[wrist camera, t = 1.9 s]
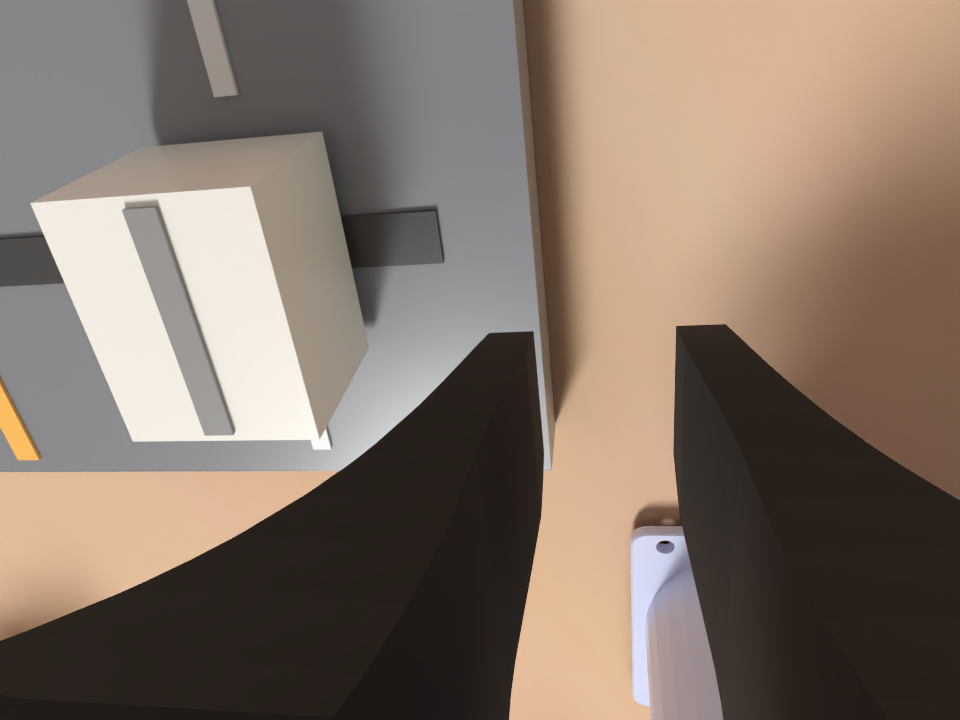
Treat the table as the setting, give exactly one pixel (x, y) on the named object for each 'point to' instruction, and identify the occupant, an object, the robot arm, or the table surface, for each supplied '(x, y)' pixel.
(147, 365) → the fader tab
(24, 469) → the console board
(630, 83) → the table surface
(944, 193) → the table surface
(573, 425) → the table surface
